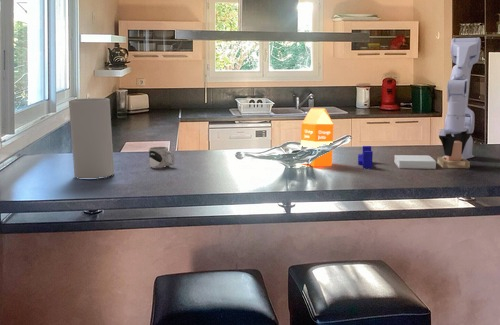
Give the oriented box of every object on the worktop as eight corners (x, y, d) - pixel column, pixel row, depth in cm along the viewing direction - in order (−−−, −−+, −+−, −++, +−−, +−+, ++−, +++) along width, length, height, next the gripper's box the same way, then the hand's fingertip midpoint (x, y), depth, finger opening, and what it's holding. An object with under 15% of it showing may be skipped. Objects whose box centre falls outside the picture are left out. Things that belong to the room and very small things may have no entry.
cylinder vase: (72, 174, 179) (67, 99, 175) (111, 170, 184) (106, 97, 179) (76, 182, 168) (70, 101, 163) (117, 178, 173) (112, 100, 168)
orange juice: (313, 166, 184) (315, 108, 182) (299, 163, 192) (301, 107, 190) (332, 165, 188) (334, 108, 186) (317, 163, 196) (319, 108, 194)
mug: (145, 167, 189) (145, 148, 188) (157, 164, 195) (156, 146, 194) (169, 169, 185) (168, 150, 184) (180, 166, 191) (179, 147, 189)
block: (457, 163, 187) (458, 140, 186) (460, 165, 183) (462, 142, 182) (445, 163, 188) (446, 140, 186) (448, 165, 184) (449, 142, 182)
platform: (428, 162, 192) (429, 155, 191) (435, 168, 181) (436, 161, 180) (394, 162, 193) (394, 155, 193) (399, 168, 182) (399, 161, 182)
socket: (462, 163, 189) (462, 157, 189) (469, 168, 181) (469, 161, 180) (437, 163, 190) (437, 156, 190) (443, 167, 182) (443, 161, 181)
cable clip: (358, 162, 195) (358, 145, 194) (370, 162, 194) (371, 146, 193) (358, 169, 183) (359, 151, 182) (372, 169, 182) (372, 151, 181)
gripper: (458, 112, 189) (456, 150, 192) (432, 115, 182) (430, 155, 184) (476, 114, 184) (474, 153, 186) (450, 117, 176) (448, 158, 178)
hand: (453, 154), depth 185 cm, fingers closed on block, 6 cm apart
